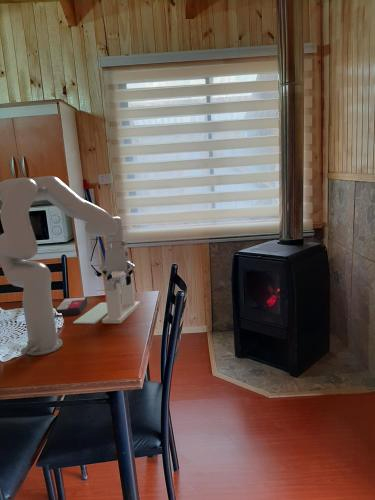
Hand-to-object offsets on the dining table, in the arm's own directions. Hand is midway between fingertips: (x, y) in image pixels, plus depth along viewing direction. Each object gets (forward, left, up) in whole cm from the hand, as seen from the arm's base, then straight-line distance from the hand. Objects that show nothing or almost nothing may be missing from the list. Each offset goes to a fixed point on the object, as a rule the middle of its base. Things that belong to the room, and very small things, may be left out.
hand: (119, 284), depth 159 cm
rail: (0, 0, 0) cm, 0 cm away
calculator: (+4, +28, -14) cm, 31 cm away
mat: (0, +12, -13) cm, 18 cm away
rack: (0, 0, -13) cm, 13 cm away
